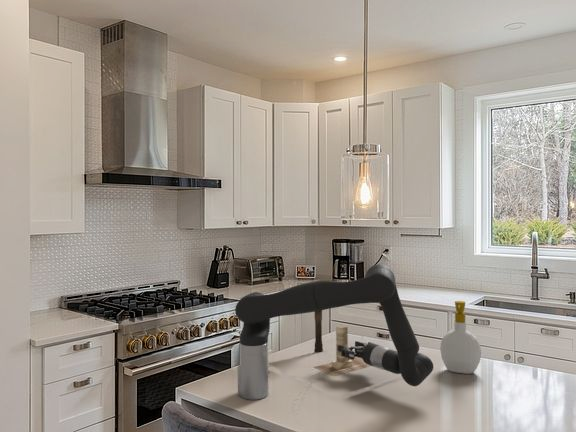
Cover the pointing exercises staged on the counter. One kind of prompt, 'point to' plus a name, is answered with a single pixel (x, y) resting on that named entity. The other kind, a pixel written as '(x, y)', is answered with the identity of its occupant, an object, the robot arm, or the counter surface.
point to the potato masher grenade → (318, 332)
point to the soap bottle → (460, 345)
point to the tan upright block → (343, 341)
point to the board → (357, 365)
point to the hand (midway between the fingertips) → (347, 345)
